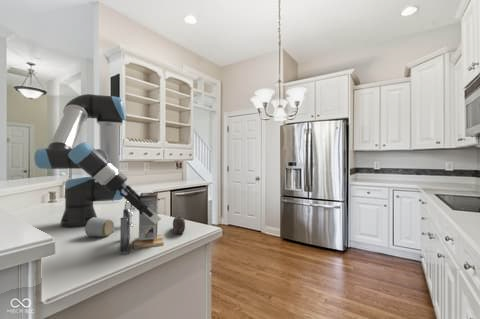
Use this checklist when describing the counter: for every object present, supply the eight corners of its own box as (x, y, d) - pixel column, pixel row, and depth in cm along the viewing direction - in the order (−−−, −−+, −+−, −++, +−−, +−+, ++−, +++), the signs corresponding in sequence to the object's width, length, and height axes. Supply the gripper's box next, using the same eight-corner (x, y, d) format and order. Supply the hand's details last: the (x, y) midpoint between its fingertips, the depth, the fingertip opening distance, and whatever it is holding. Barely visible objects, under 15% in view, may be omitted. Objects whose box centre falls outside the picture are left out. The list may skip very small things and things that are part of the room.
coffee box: (140, 233, 92) (141, 192, 92) (157, 231, 94) (158, 192, 94) (138, 240, 83) (138, 195, 83) (157, 238, 85) (157, 195, 86)
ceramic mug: (103, 239, 92) (104, 220, 93) (84, 238, 93) (84, 219, 93) (119, 231, 103) (119, 214, 103) (102, 231, 104) (102, 214, 104)
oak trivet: (134, 240, 91) (134, 237, 91) (161, 236, 95) (161, 234, 95) (134, 248, 82) (134, 246, 82) (163, 244, 86) (163, 242, 86)
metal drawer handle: (123, 239, 93) (123, 209, 93) (129, 238, 94) (130, 208, 94) (120, 255, 77) (120, 219, 77) (128, 253, 78) (128, 218, 78)
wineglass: (123, 225, 113) (123, 200, 113) (136, 223, 116) (136, 199, 116) (125, 227, 108) (125, 202, 108) (138, 225, 112) (138, 201, 112)
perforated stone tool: (173, 226, 111) (173, 212, 111) (184, 226, 112) (184, 211, 112) (172, 236, 96) (172, 219, 96) (185, 235, 97) (185, 219, 97)
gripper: (106, 183, 93) (148, 219, 99) (97, 189, 73) (151, 233, 79) (121, 170, 95) (162, 206, 101) (117, 172, 75) (167, 216, 81)
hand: (157, 218), depth 90 cm, fingers closed on coffee box, 9 cm apart
